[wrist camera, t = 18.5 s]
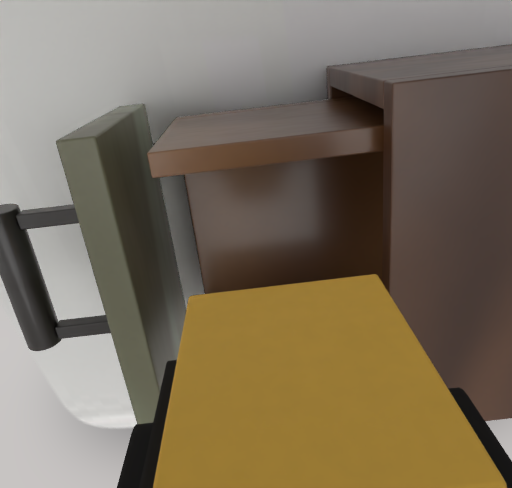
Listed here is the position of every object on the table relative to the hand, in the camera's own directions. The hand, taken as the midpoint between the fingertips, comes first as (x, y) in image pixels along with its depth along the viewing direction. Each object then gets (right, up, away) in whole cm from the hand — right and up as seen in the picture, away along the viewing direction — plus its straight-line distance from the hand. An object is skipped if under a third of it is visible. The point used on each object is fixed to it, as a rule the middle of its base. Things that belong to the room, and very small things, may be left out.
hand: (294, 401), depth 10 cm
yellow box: (0, 0, 0) cm, 0 cm away
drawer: (-2, +5, +12) cm, 13 cm away
